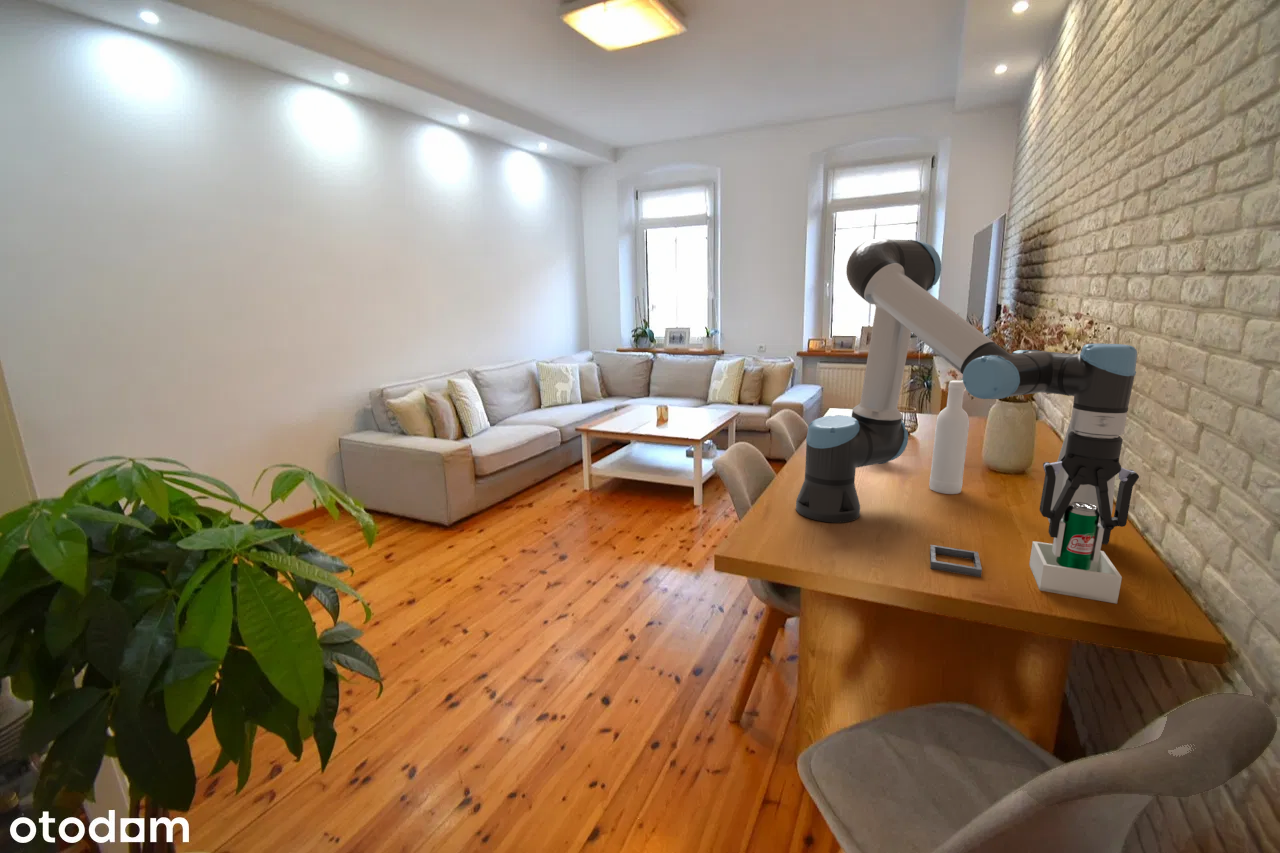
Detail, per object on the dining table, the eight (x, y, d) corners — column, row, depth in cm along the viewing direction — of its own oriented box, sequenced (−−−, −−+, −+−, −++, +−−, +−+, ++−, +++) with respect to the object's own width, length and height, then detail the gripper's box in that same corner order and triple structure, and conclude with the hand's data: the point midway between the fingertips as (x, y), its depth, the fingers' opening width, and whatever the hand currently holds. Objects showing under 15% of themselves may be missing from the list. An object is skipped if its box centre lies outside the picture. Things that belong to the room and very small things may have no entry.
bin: (1039, 590, 104) (1043, 564, 103) (1029, 564, 114) (1032, 541, 113) (1116, 603, 99) (1122, 577, 98) (1099, 575, 109) (1103, 551, 108)
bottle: (923, 488, 158) (934, 381, 152) (937, 483, 163) (948, 378, 156) (953, 496, 152) (966, 384, 146) (966, 490, 157) (980, 381, 150)
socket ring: (930, 568, 113) (931, 561, 112) (929, 551, 120) (930, 544, 120) (981, 577, 109) (982, 570, 109) (977, 558, 117) (977, 551, 116)
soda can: (1065, 572, 104) (1075, 510, 101) (1050, 560, 109) (1059, 500, 106) (1096, 574, 103) (1107, 511, 100) (1079, 561, 108) (1090, 501, 105)
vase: (1102, 531, 129) (1128, 386, 122) (1115, 551, 119) (1144, 395, 112) (1037, 522, 135) (1058, 383, 127) (1045, 540, 125) (1068, 391, 117)
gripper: (1037, 433, 101) (1019, 555, 106) (1170, 443, 93) (1143, 574, 98) (1030, 424, 107) (1013, 540, 113) (1153, 433, 100) (1129, 557, 105)
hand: (1074, 556), depth 105 cm, fingers closed on soda can, 5 cm apart
